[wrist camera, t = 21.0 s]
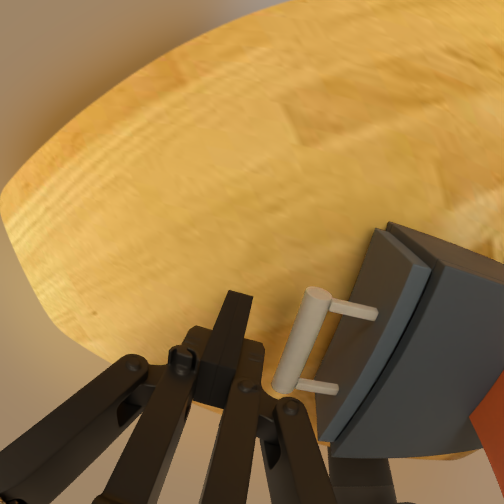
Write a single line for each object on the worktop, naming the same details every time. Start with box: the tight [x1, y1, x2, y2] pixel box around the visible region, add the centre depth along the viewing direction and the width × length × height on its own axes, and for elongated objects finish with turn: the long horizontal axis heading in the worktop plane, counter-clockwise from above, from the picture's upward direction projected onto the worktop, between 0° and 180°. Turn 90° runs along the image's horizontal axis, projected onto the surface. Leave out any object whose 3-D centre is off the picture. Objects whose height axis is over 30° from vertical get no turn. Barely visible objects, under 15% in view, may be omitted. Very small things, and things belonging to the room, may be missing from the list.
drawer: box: [271, 228, 432, 442], centre depth 18 cm, size 20×14×7 cm
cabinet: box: [330, 222, 504, 458], centre depth 18 cm, size 17×15×9 cm
